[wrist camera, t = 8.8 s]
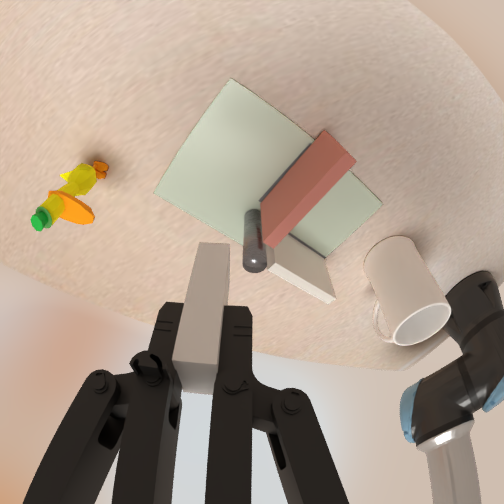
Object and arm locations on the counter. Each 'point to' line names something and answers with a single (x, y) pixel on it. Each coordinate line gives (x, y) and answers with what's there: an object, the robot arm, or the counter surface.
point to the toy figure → (70, 197)
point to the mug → (405, 292)
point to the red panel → (303, 187)
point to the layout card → (256, 172)
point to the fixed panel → (301, 268)
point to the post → (253, 243)
